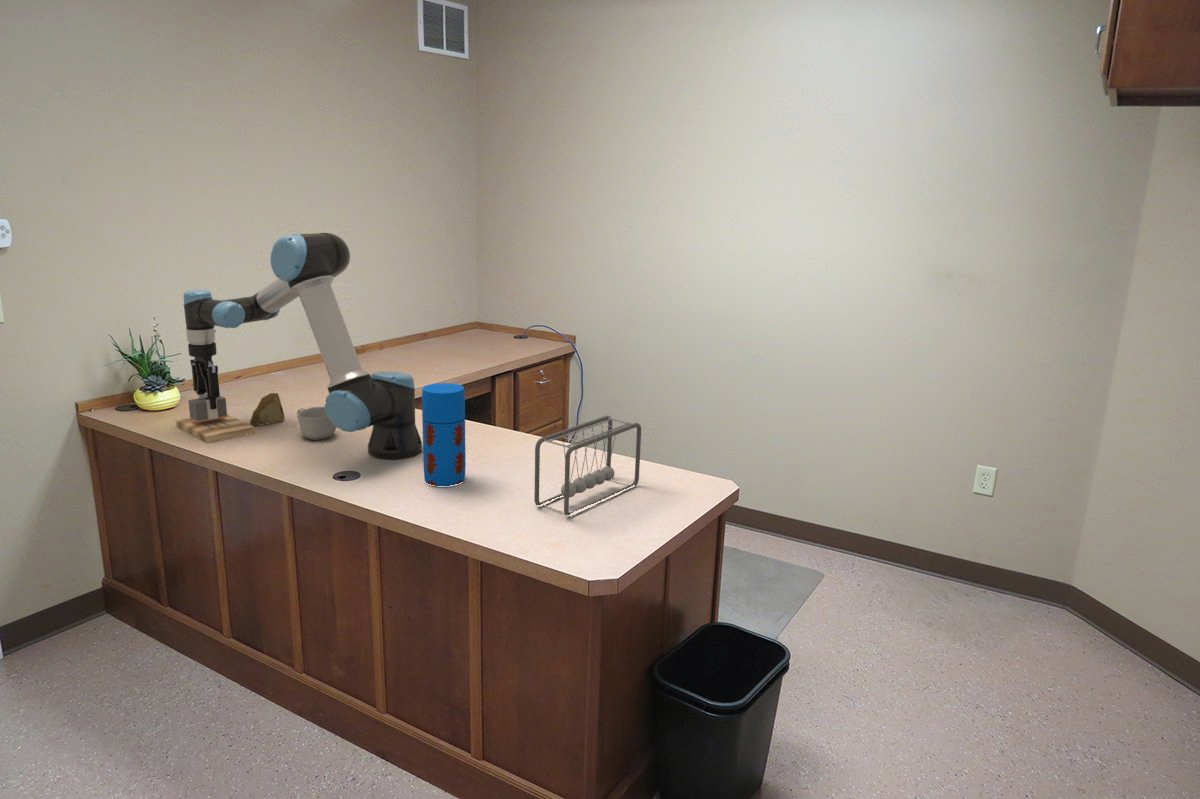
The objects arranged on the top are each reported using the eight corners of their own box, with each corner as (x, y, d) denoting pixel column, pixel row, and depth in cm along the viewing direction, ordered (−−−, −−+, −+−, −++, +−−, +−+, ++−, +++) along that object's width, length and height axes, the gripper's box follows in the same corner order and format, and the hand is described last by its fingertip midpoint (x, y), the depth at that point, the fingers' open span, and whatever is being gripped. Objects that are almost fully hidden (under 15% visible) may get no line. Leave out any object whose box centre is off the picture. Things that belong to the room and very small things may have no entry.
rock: (246, 422, 250) (280, 416, 252) (243, 396, 253) (277, 391, 255) (254, 433, 260) (287, 428, 262) (251, 409, 263) (284, 403, 265)
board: (255, 433, 247) (254, 426, 247) (208, 443, 237) (207, 436, 237) (222, 417, 261) (221, 411, 261) (176, 426, 251) (175, 420, 251)
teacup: (344, 437, 246) (342, 411, 244) (310, 445, 239) (308, 418, 237) (320, 427, 256) (319, 402, 253) (287, 434, 248) (285, 408, 246)
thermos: (446, 490, 208) (444, 395, 201) (415, 481, 213) (412, 388, 207) (474, 478, 217) (473, 387, 210) (443, 470, 222) (442, 380, 216)
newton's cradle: (566, 520, 193) (568, 448, 188) (533, 508, 199) (534, 439, 194) (639, 486, 216) (642, 421, 211) (607, 476, 222) (610, 413, 217)
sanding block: (227, 417, 252) (225, 398, 251) (197, 422, 246) (195, 403, 244) (219, 413, 256) (218, 395, 254) (190, 419, 249) (188, 400, 247)
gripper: (228, 345, 241) (234, 420, 248) (201, 336, 253) (208, 408, 259) (202, 348, 236) (209, 425, 242) (176, 339, 247) (183, 413, 254)
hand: (208, 416), depth 251 cm, fingers closed on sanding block, 5 cm apart
